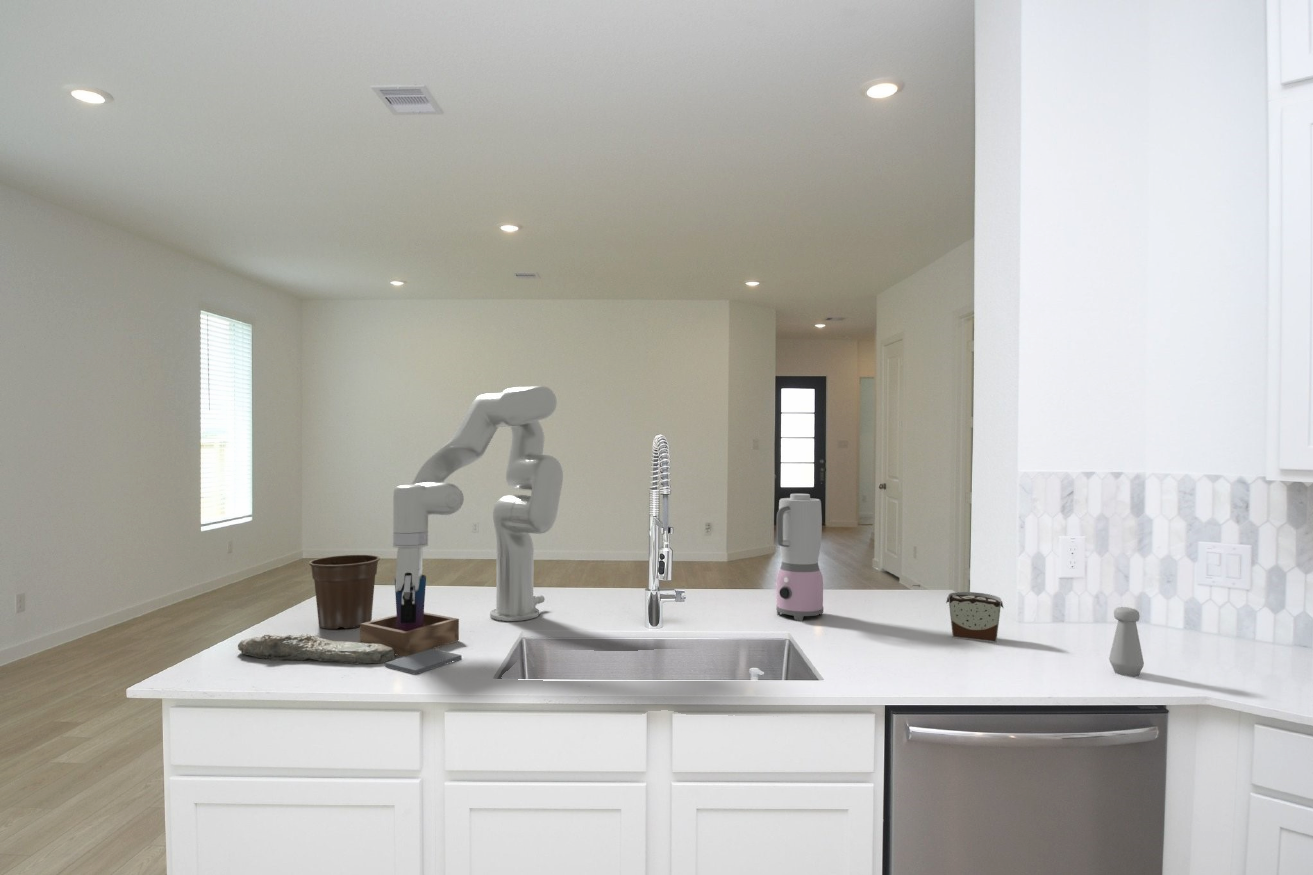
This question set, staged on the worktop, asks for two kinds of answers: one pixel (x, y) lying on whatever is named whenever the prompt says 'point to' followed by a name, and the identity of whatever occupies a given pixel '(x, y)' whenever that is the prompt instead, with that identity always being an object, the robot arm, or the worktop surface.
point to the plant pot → (344, 589)
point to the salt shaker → (1126, 643)
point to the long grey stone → (314, 649)
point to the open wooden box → (411, 634)
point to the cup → (419, 606)
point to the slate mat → (423, 661)
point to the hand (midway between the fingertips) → (410, 617)
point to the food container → (974, 615)
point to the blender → (799, 556)
